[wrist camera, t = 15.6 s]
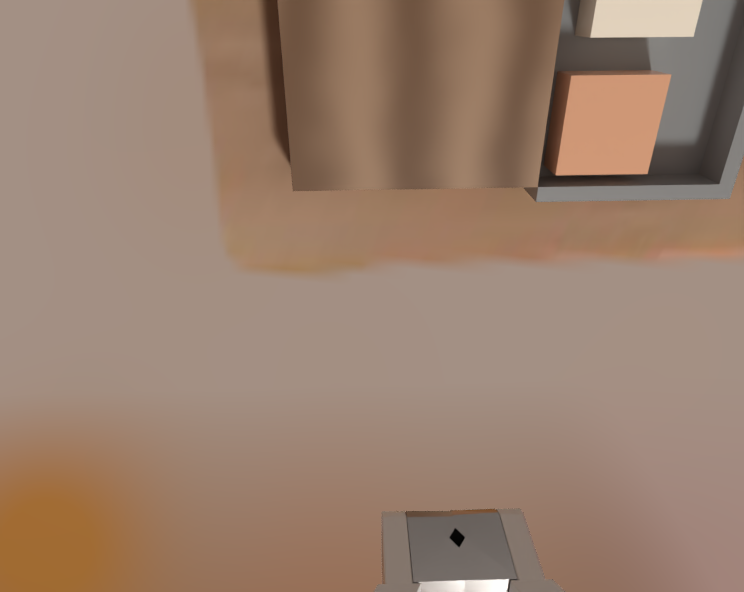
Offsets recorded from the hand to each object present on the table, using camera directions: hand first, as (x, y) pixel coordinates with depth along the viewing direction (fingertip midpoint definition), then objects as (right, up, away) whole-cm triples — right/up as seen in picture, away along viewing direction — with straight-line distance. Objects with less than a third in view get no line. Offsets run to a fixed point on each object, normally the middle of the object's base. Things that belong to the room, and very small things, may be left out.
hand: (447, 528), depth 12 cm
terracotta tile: (+13, +17, +24) cm, 32 cm away
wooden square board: (+1, +20, +22) cm, 30 cm away
